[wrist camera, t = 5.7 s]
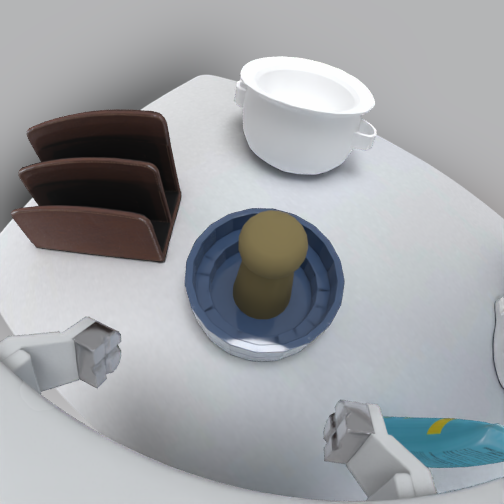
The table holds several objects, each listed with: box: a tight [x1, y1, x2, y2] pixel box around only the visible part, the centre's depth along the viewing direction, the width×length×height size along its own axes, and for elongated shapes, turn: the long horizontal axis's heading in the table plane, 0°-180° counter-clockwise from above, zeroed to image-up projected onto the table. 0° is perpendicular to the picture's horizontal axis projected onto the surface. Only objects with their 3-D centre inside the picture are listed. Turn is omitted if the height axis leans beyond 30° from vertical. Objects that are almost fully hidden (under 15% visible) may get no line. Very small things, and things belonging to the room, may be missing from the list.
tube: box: [383, 416, 504, 468], centre depth 14 cm, size 7×5×19 cm, turn 65°
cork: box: [233, 210, 308, 319], centre depth 25 cm, size 6×6×11 cm
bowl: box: [185, 208, 345, 361], centre depth 28 cm, size 14×14×5 cm
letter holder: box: [11, 110, 181, 261], centre depth 27 cm, size 10×20×14 cm, turn 86°
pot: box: [234, 57, 376, 175], centre depth 37 cm, size 22×17×12 cm
